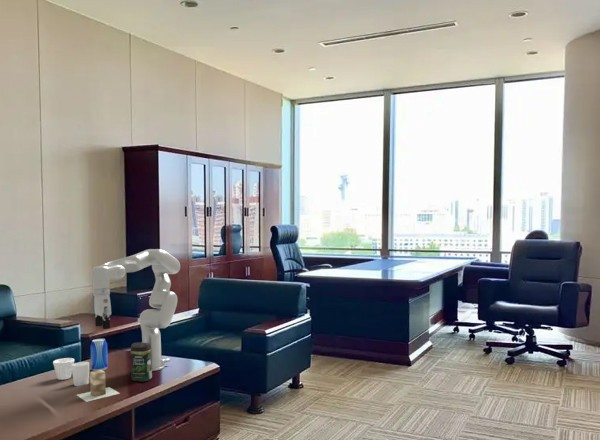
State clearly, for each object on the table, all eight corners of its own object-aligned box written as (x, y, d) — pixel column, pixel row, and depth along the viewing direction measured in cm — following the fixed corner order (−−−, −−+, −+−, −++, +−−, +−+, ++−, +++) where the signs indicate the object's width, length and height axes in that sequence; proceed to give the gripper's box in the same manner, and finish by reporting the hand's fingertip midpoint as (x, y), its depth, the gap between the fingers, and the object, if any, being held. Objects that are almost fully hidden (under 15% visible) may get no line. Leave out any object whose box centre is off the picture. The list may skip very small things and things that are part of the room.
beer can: (90, 368, 283) (89, 339, 284) (107, 366, 287) (106, 337, 287) (91, 372, 276) (90, 342, 276) (108, 370, 279) (107, 340, 279)
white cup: (69, 385, 254) (68, 365, 254) (82, 381, 261) (81, 361, 261) (80, 387, 250) (79, 366, 251) (93, 382, 257) (92, 362, 257)
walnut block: (101, 391, 239) (101, 380, 239) (105, 394, 235) (105, 382, 235) (90, 394, 236) (90, 383, 236) (94, 396, 232) (94, 385, 232)
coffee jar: (128, 382, 256) (127, 344, 256) (136, 377, 264) (135, 340, 264) (147, 382, 254) (145, 344, 255) (154, 377, 262) (153, 340, 262)
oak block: (101, 380, 239) (101, 369, 239) (105, 382, 235) (105, 371, 235) (90, 383, 236) (90, 372, 236) (94, 385, 232) (93, 374, 232)
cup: (78, 375, 271) (78, 357, 271) (68, 381, 261) (67, 363, 261) (60, 375, 272) (59, 358, 272) (49, 381, 262) (48, 363, 262)
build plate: (109, 389, 245) (109, 387, 245) (120, 396, 235) (120, 393, 235) (76, 397, 235) (76, 394, 235) (86, 404, 226) (86, 401, 226)
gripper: (116, 292, 247) (117, 328, 247) (102, 289, 261) (103, 323, 260) (100, 294, 243) (101, 331, 242) (87, 291, 256) (88, 326, 256)
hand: (102, 327), depth 251 cm, fingers open, 9 cm apart
